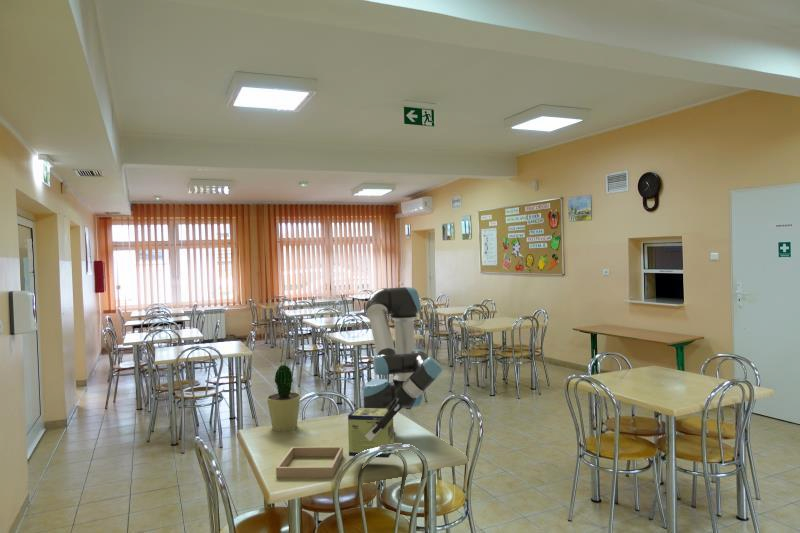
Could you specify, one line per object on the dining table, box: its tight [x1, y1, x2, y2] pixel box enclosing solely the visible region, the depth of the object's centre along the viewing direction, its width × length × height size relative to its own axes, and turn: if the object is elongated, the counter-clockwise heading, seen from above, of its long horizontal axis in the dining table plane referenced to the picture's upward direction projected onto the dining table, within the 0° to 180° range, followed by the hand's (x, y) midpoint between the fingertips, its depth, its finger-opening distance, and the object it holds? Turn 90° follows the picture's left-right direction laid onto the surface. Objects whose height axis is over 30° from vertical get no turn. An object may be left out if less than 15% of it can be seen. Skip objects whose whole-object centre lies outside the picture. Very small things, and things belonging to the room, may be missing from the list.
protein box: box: [347, 407, 395, 459], centre depth 207 cm, size 10×16×16 cm
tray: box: [275, 446, 344, 478], centre depth 207 cm, size 21×22×4 cm
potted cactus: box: [266, 364, 301, 432], centre depth 257 cm, size 15×15×30 cm
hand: (369, 433), depth 207 cm, fingers closed on protein box, 11 cm apart
